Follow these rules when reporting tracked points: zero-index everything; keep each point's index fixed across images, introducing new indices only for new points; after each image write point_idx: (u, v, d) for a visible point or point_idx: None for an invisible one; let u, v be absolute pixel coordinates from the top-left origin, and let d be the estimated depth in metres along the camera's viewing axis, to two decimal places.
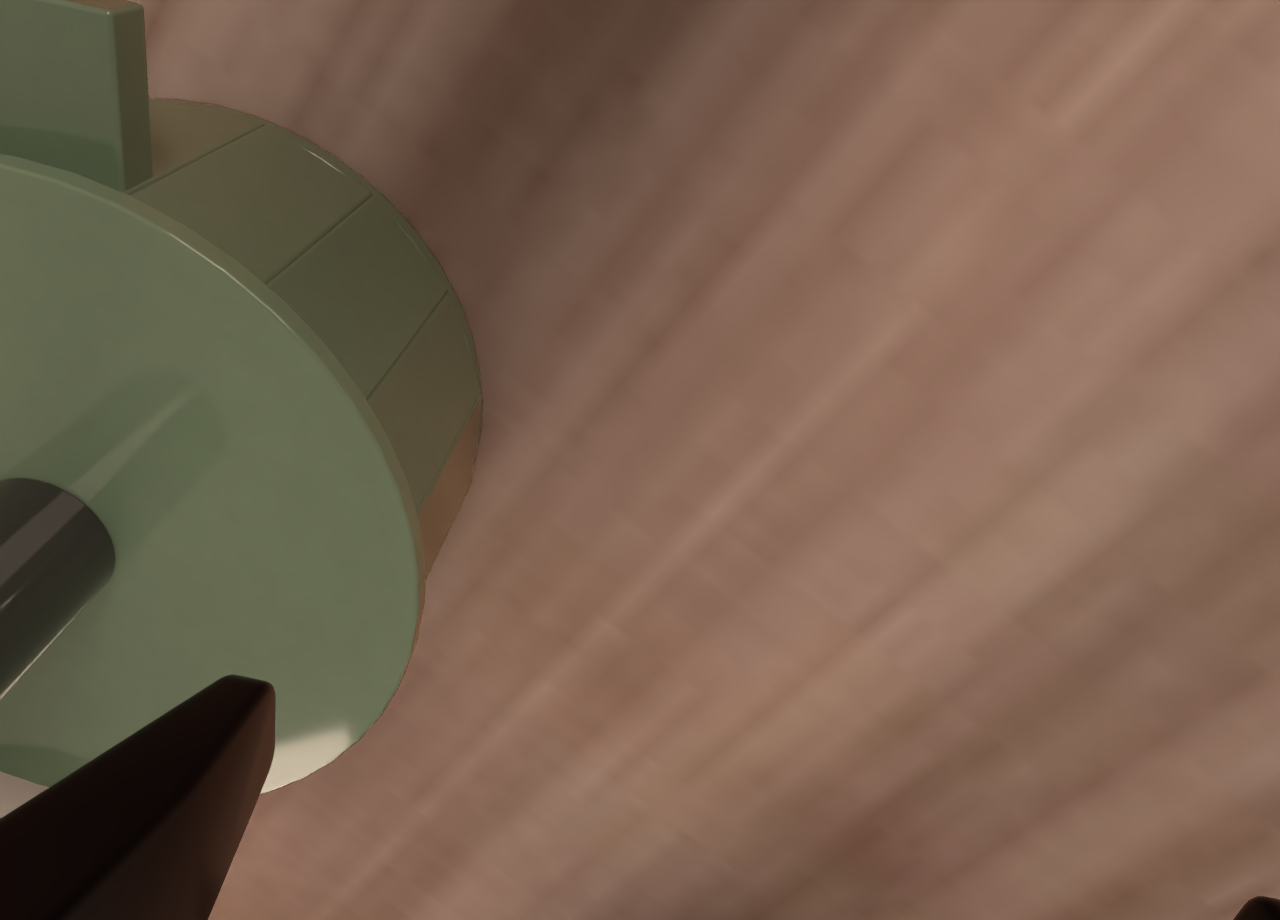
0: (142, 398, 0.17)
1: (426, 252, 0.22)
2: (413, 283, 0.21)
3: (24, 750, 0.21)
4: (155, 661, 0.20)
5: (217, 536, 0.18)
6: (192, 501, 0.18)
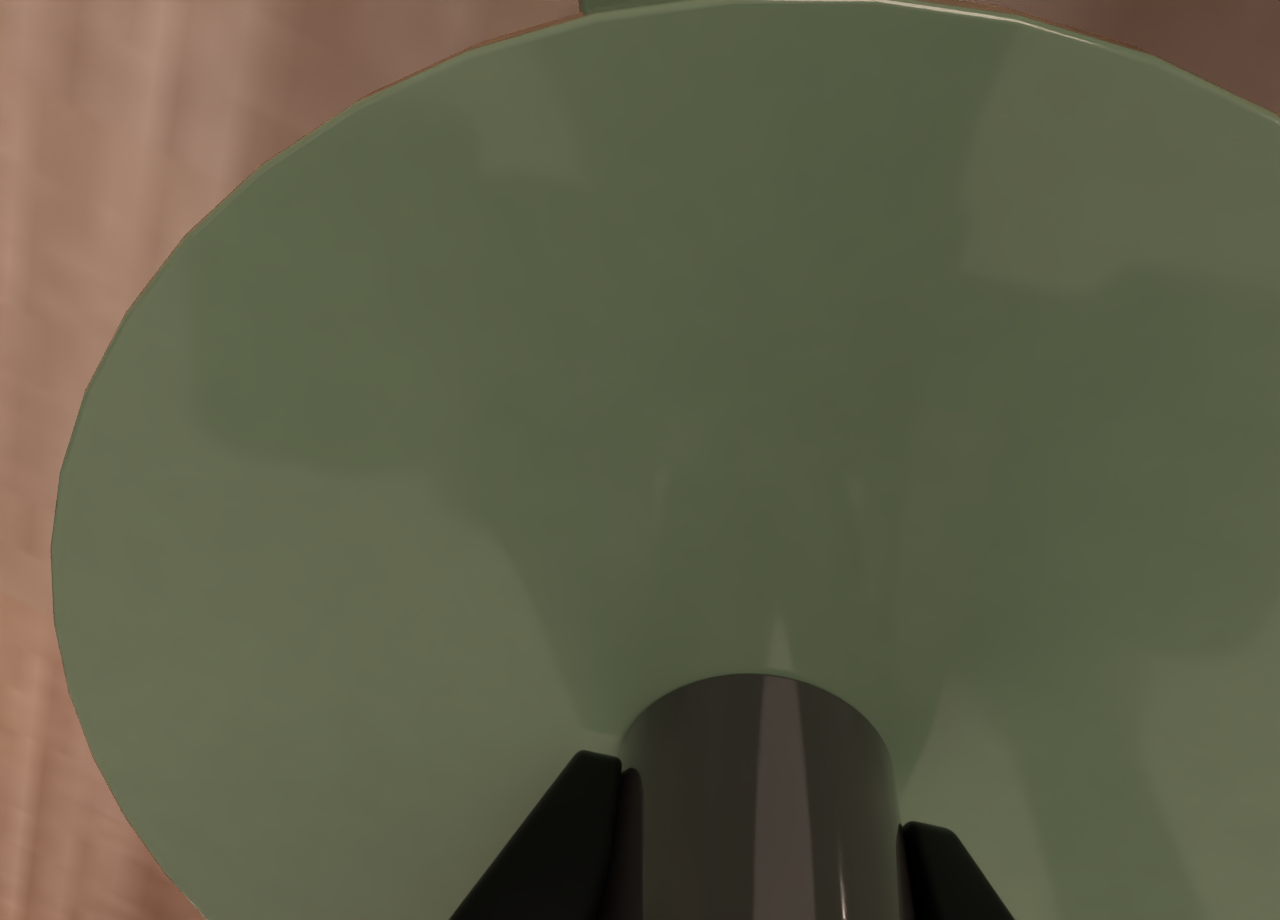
0: (1004, 466, 0.08)
1: None
2: None
3: None
4: None
5: (1117, 711, 0.09)
6: (1076, 654, 0.09)
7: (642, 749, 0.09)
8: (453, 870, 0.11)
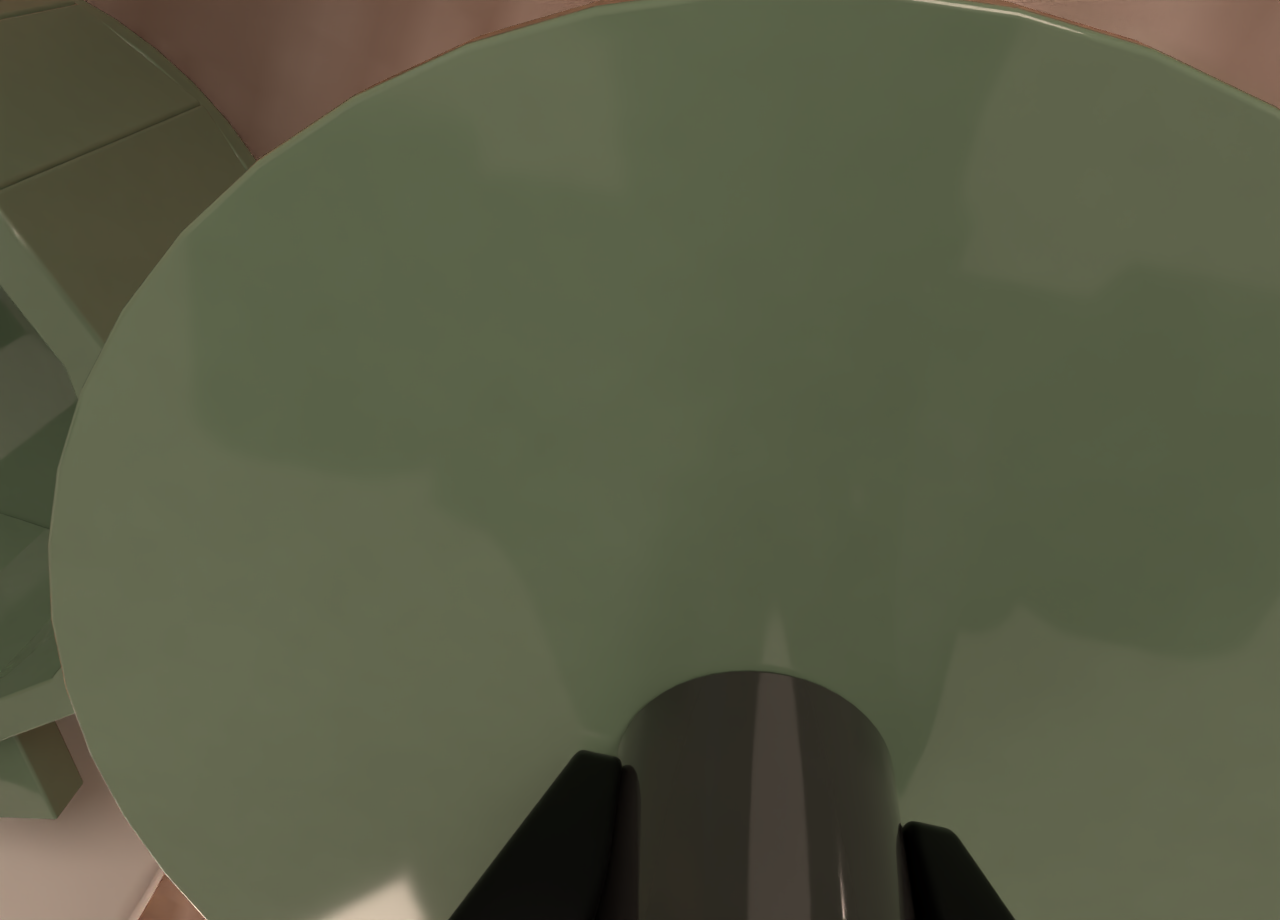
0: (1005, 462, 0.08)
1: (166, 65, 0.18)
2: (133, 87, 0.17)
3: None
4: None
5: (1117, 709, 0.09)
6: (1076, 651, 0.09)
7: (641, 746, 0.09)
8: (452, 868, 0.11)
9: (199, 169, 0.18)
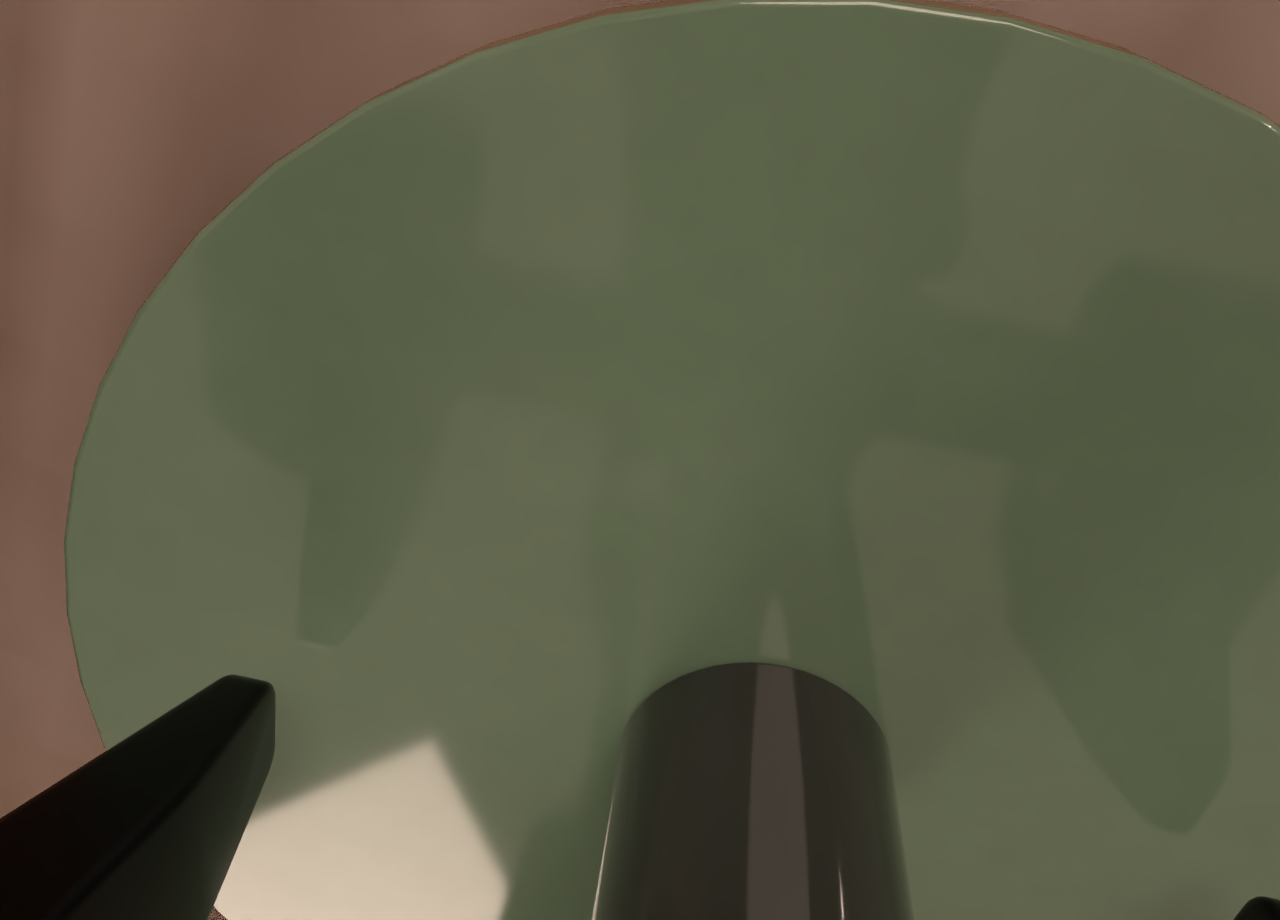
0: (999, 460, 0.08)
1: None
2: None
3: None
4: None
5: (1109, 699, 0.09)
6: (1069, 643, 0.09)
7: (644, 736, 0.09)
8: (458, 857, 0.11)
9: None
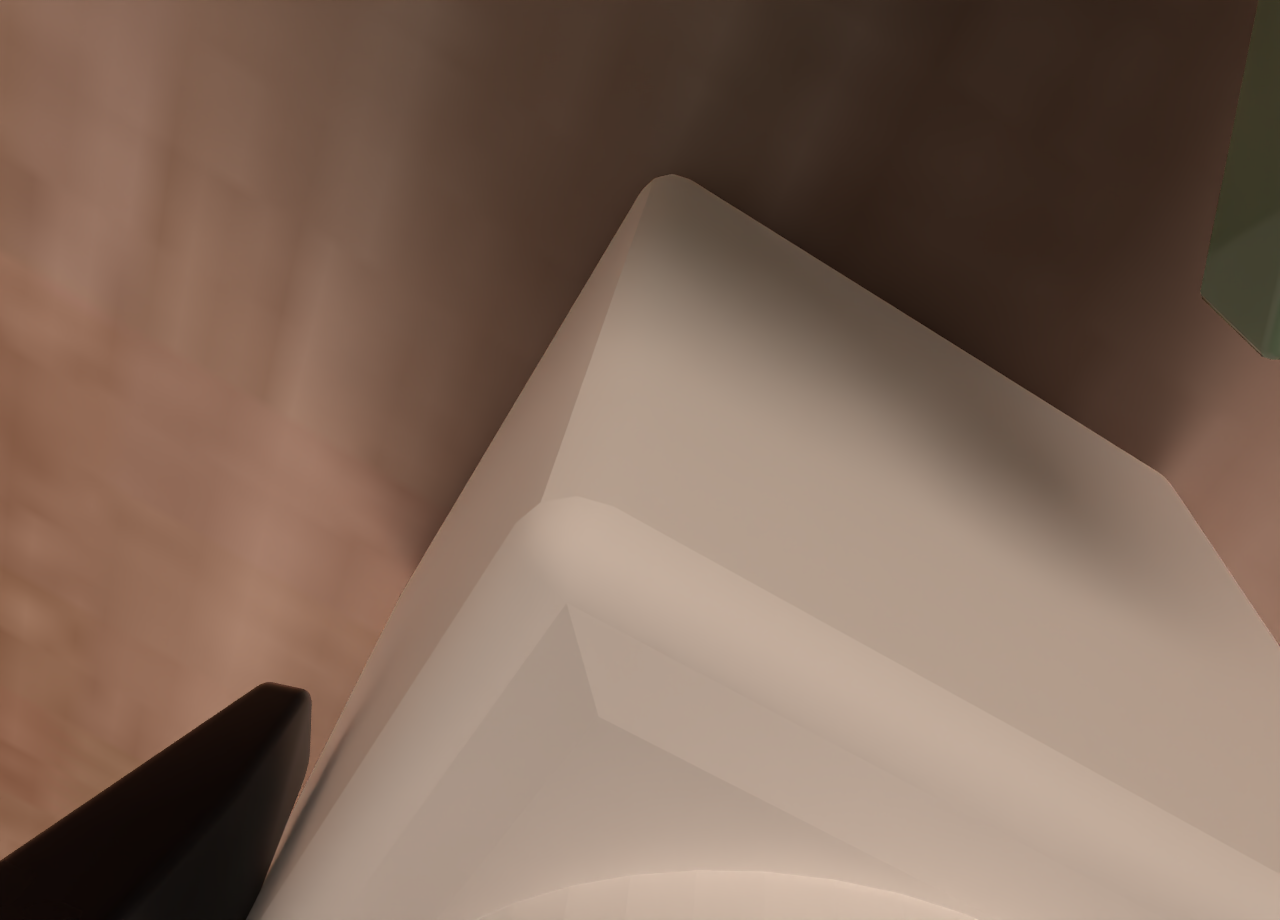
0: None
1: None
2: None
3: None
4: None
5: None
6: None
7: None
8: None
9: None
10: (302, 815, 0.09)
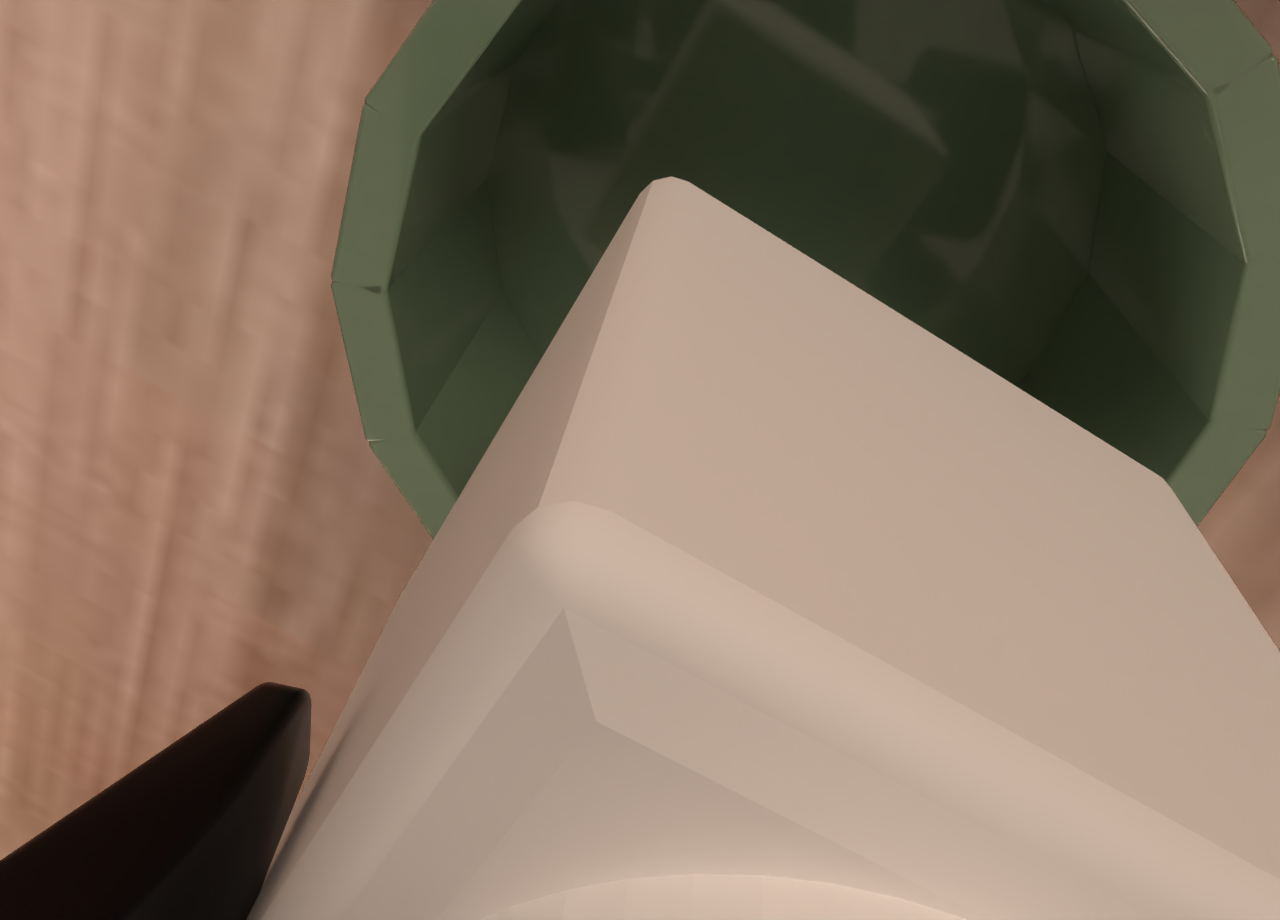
0: None
1: None
2: None
3: None
4: None
5: None
6: None
7: None
8: None
9: None
10: (301, 817, 0.09)
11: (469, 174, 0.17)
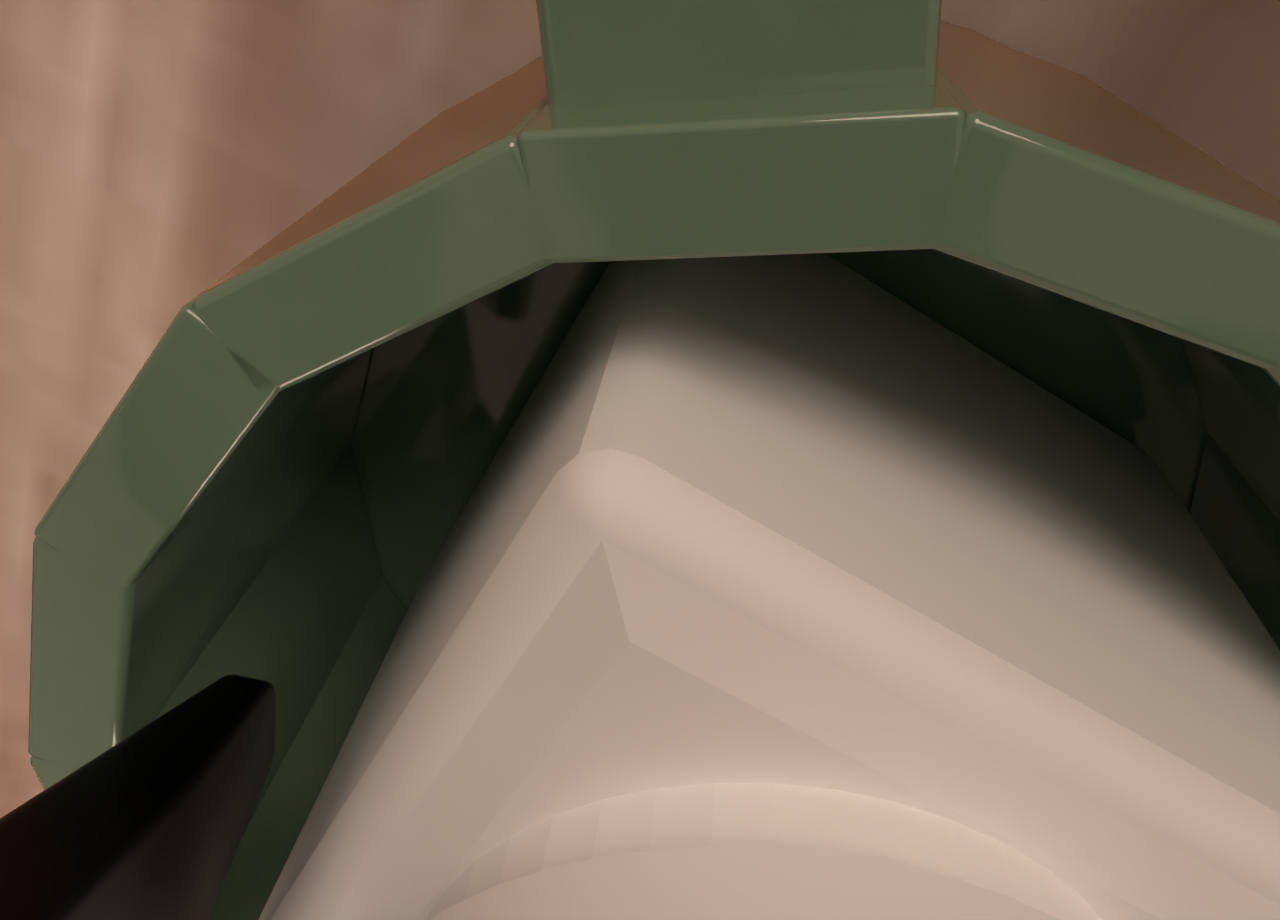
0: None
1: None
2: None
3: None
4: None
5: None
6: None
7: None
8: None
9: None
10: (347, 761, 0.10)
11: (305, 480, 0.12)
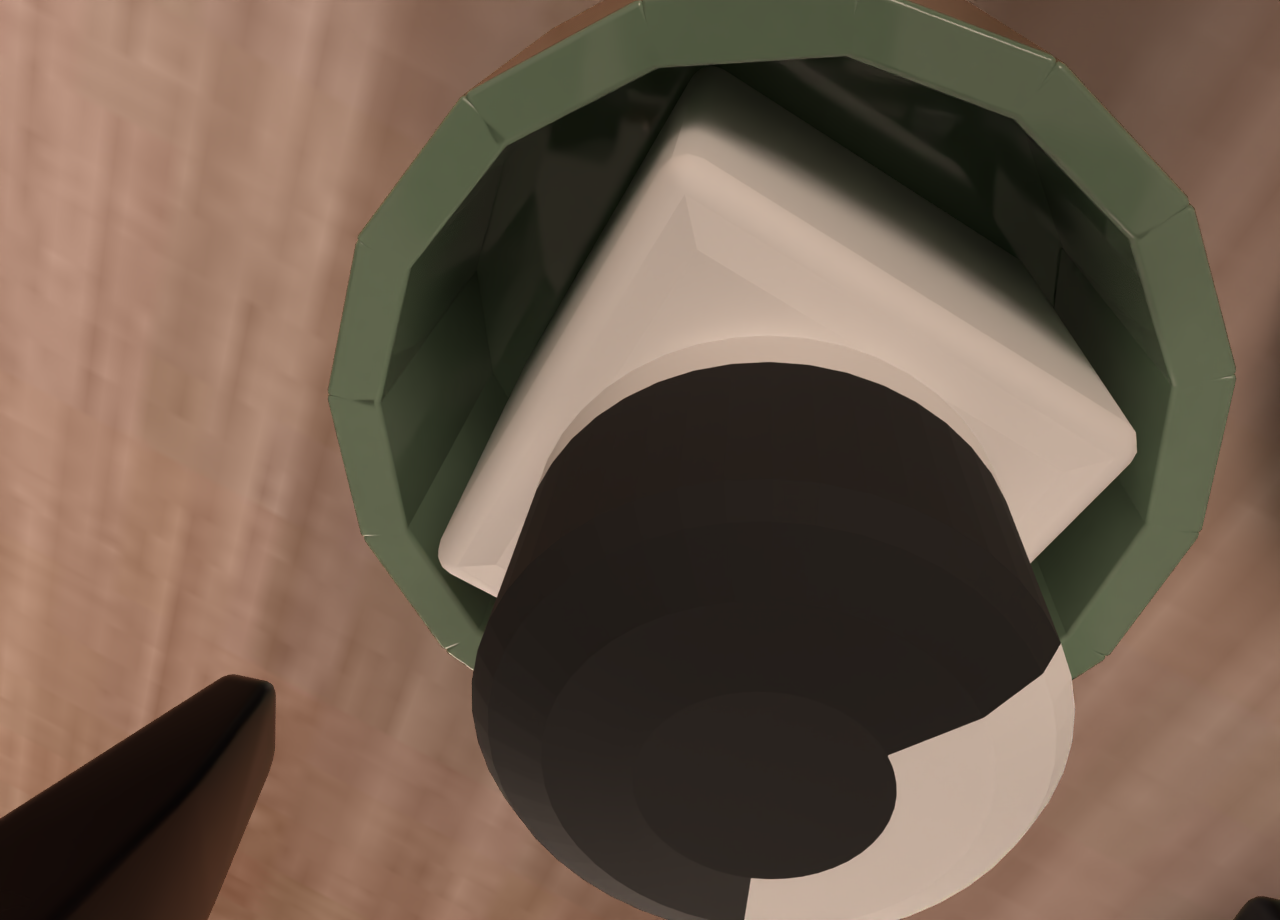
0: None
1: None
2: None
3: None
4: None
5: None
6: None
7: None
8: None
9: None
10: (510, 411, 0.16)
11: (458, 274, 0.18)
